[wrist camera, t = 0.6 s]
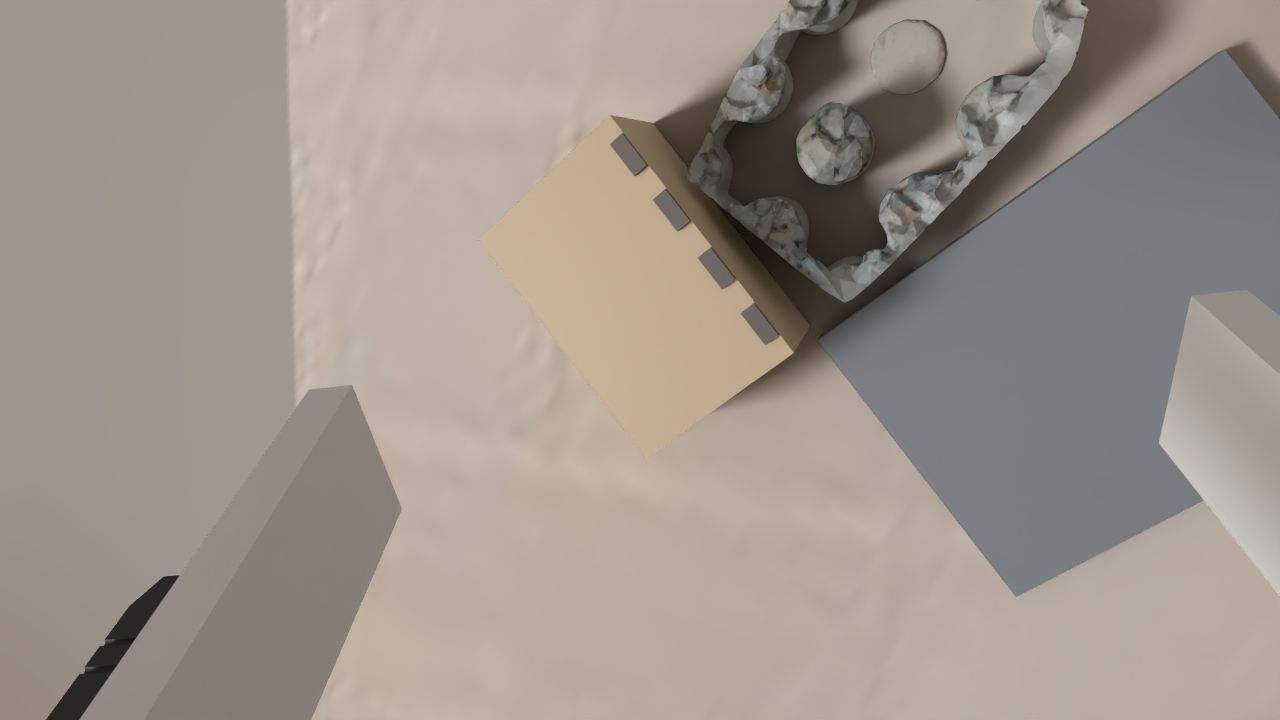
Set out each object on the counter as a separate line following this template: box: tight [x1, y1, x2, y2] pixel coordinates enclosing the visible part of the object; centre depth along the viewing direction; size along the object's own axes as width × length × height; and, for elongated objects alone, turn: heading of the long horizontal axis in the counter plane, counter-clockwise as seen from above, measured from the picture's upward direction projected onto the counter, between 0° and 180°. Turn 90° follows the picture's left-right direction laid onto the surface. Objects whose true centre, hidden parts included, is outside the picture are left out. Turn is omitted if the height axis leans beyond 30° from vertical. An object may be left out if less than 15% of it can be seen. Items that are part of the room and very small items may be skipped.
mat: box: [818, 50, 1280, 597], centre depth 26 cm, size 11×14×1 cm
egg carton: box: [686, 0, 1088, 302], centre depth 25 cm, size 11×8×4 cm
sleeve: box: [478, 115, 810, 459], centre depth 28 cm, size 9×6×5 cm, turn 40°
